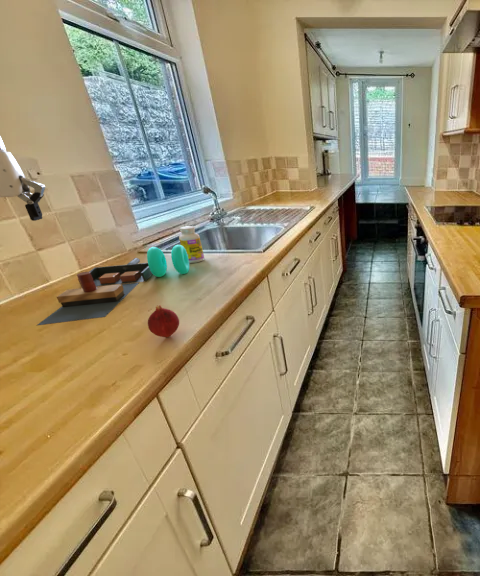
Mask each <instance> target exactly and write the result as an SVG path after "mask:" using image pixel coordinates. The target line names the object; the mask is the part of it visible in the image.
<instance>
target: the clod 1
mask: <svg viewBox="0 0 480 576" xmlns="http://www.w3.org/2000/svg"><path fill="white" fill-rule="evenodd" d="M119 279H120V273H109V274H104V275H103V276H101V277H100V278H99V280H100V283H101V284H106V283H116V282H117V281H118V280H119Z"/></svg>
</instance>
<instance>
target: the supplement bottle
mask: <svg viewBox="0 0 480 576" xmlns="http://www.w3.org/2000/svg"><path fill="white" fill-rule="evenodd" d="M179 231H180V233H181V234H179V236H178V240H179V245H182V246H183V247H184V248H185V250H186V252H187V255H188V260H189V264H195V263H199V262H202V261H204V260H205V255H204V250H203V245H202V241H201V237H200V235H199V233H197V232H196V228H195V226H193V225H186V226H185V225H184V226H181V227H179Z"/></svg>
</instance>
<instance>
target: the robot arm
mask: <svg viewBox="0 0 480 576" xmlns="http://www.w3.org/2000/svg"><path fill="white" fill-rule="evenodd" d="M30 187H31V188H33V189H34V192H33V193H31V188H30ZM45 189H46V186H45V184H43V183H40V182H37V181H35V180H33V179H30V178H27V177H26V175H25V174H24V172H23V169H22V168H21V166H20V165H19V163H18V161H17V160H16V158H15V157H14V156H13V154H12V153H11V151H7V149H6V146H5V144H4V141H3V139H2V136H0V198H15V197H17V198H19V199H20V200H22V201H23V202H25V205H24V208H25V210H26V212H27V214H28V216H29V219H30V221H33V222H36V221H39V220H42V219H43V212H42V210H41V208H40V205H39V203H40V202H41V200H42V198H43V197H44V195H45V194H44V193H45Z"/></svg>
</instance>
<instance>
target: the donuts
mask: <svg viewBox="0 0 480 576" xmlns="http://www.w3.org/2000/svg"><path fill="white" fill-rule="evenodd" d="M170 254H171V255H170V256H171V263H172V265H173V268H174V270H175V271H176V272H177V273H179V274H181V275H185V274H187V273H188V272H189V271H190V263H189V260H188V255H187V252H186V250H185V248H184V247H183V246H182V245H181V244H175V245H174V246H173V247H172V249H171V252H170ZM146 261H147V263H148V265H149V268H150V271H151V272H152V276H154V277H156V278H162V277H163V276H165V274H166V273H167V271H168V263H167V258H166V255H165V253H164V252H163V250H162V249H161V248H159V247H157V246H152V247H149V248H148V249H147V252H146Z"/></svg>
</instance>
